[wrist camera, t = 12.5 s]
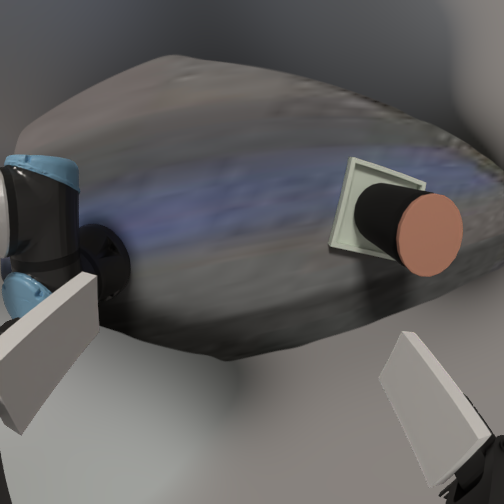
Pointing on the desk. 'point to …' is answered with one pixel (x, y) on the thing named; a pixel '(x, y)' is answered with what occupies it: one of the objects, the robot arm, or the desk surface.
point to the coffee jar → (410, 226)
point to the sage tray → (354, 184)
